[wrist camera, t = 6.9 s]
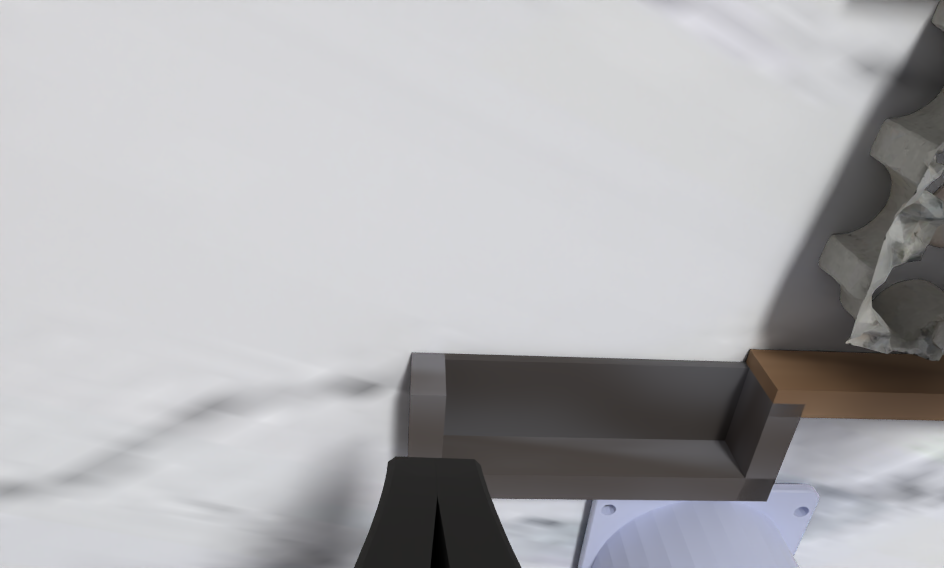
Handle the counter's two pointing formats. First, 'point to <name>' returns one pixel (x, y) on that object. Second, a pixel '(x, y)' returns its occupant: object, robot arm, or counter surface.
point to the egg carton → (897, 240)
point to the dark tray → (649, 418)
